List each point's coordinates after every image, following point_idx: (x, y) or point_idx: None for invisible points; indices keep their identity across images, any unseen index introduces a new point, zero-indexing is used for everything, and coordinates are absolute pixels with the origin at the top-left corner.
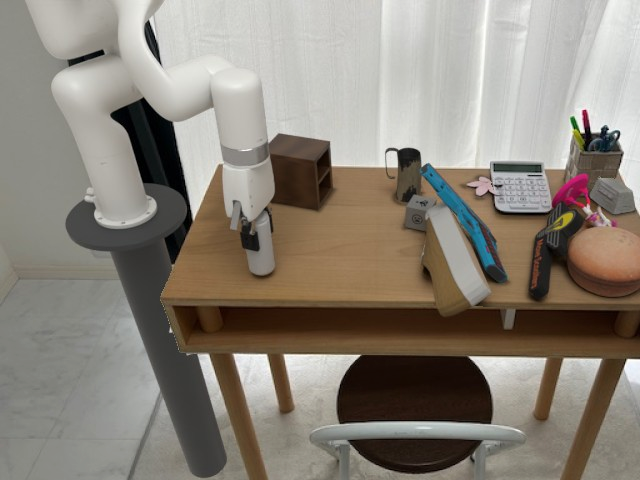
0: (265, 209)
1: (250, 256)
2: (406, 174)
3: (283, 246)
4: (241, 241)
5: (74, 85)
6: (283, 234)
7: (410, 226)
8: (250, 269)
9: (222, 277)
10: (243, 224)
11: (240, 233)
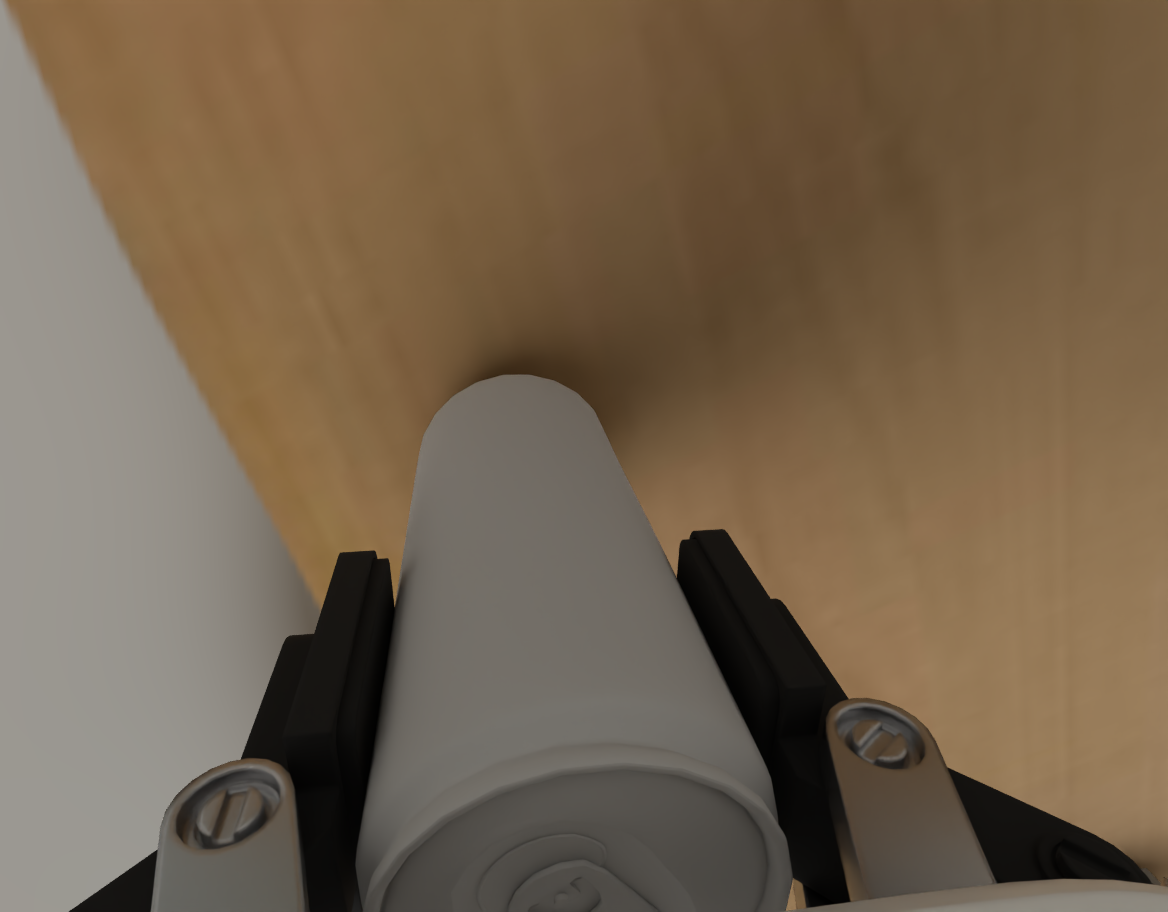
0: (825, 879)
1: (409, 521)
2: None
3: (825, 426)
4: (326, 602)
5: None
6: (955, 365)
7: None
8: (430, 426)
9: (363, 169)
10: (383, 788)
11: (298, 697)
